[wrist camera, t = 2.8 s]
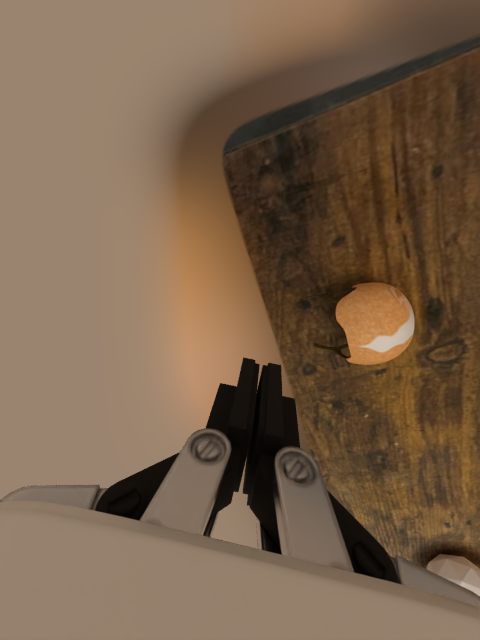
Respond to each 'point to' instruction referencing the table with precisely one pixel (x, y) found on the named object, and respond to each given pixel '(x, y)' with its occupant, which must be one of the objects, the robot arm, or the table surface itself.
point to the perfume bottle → (457, 571)
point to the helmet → (373, 323)
